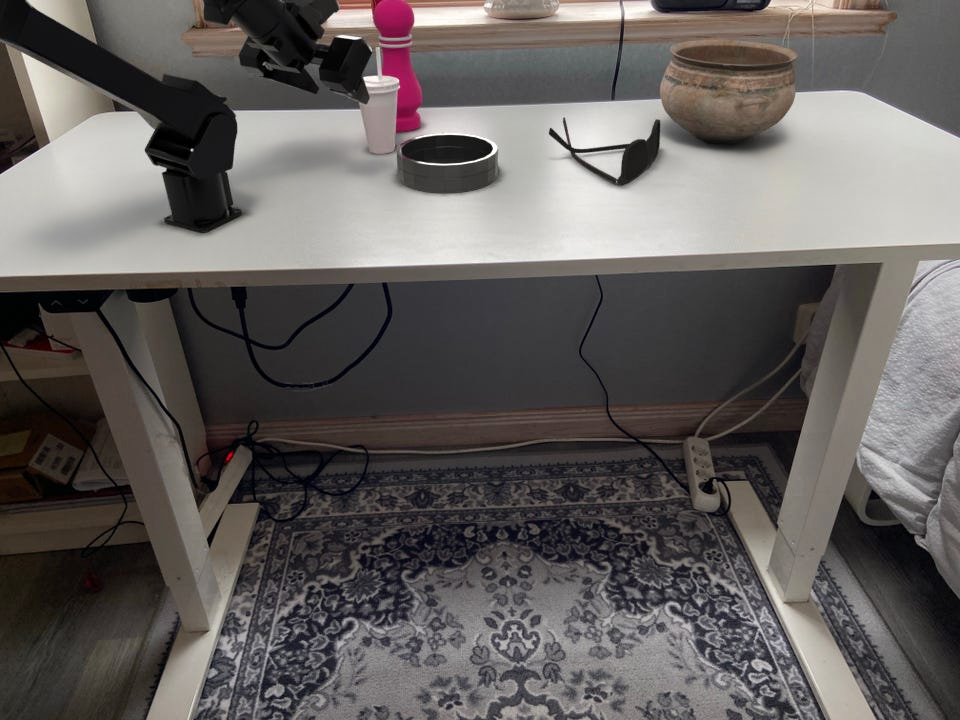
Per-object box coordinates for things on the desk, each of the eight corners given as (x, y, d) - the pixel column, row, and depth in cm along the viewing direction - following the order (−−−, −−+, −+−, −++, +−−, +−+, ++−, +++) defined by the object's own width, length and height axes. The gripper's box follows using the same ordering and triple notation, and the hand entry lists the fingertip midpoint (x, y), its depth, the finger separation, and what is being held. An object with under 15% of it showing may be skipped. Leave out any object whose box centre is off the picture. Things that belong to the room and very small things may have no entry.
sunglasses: (574, 137, 114) (576, 103, 111) (667, 150, 108) (672, 115, 105) (528, 171, 101) (529, 134, 99) (631, 188, 96) (635, 149, 93)
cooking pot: (818, 161, 104) (841, 69, 97) (685, 167, 102) (699, 73, 95) (745, 112, 124) (760, 33, 118) (634, 116, 123) (642, 36, 116)
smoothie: (400, 157, 106) (393, 52, 99) (355, 156, 107) (345, 52, 99) (407, 143, 112) (400, 42, 104) (364, 142, 112) (355, 42, 105)
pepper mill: (432, 124, 120) (427, -15, 109) (405, 135, 115) (396, -9, 104) (396, 117, 123) (387, -18, 112) (368, 128, 118) (356, -12, 107)
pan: (466, 199, 93) (466, 171, 91) (378, 182, 98) (376, 155, 96) (513, 167, 102) (514, 141, 100) (431, 153, 108) (430, 128, 106)
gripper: (353, -39, 82) (421, 51, 96) (241, -48, 91) (317, 36, 105) (310, 49, 81) (385, 127, 95) (200, 31, 90) (283, 105, 104)
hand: (341, 96), depth 100 cm, fingers open, 9 cm apart
